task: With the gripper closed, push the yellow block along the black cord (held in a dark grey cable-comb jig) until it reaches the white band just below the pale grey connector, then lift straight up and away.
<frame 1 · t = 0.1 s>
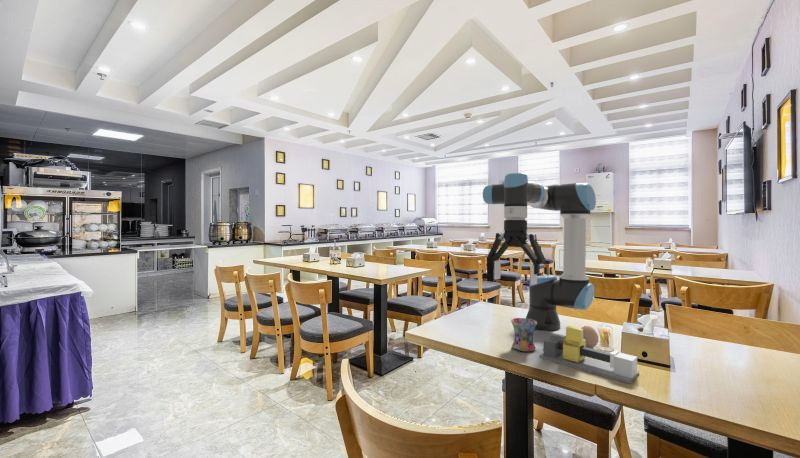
hand: (514, 281, 122), 28 cm above the table, fingers open, 13 cm apart
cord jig: (586, 365, 120), on the table
egg: (587, 348, 137), on the table
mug: (525, 348, 137), on the table
yellow block: (574, 343, 123), point 7 cm above the table, slide at 0.0 cm
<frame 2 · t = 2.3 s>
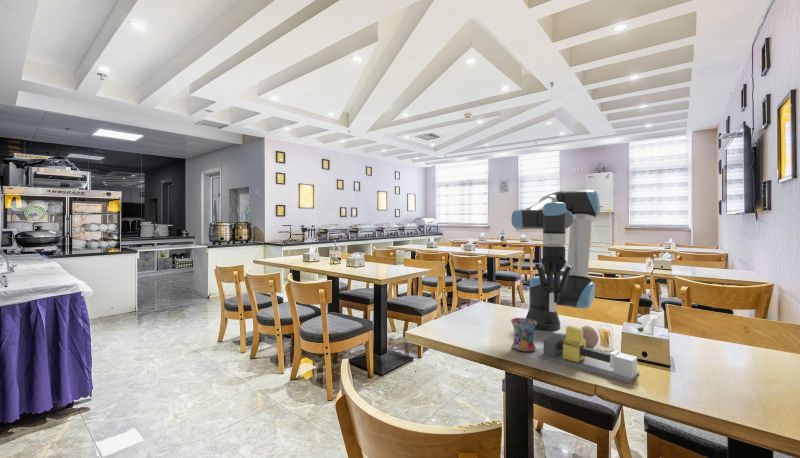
hand: (552, 311, 128), 16 cm above the table, fingers closed
nothing on the table moved.
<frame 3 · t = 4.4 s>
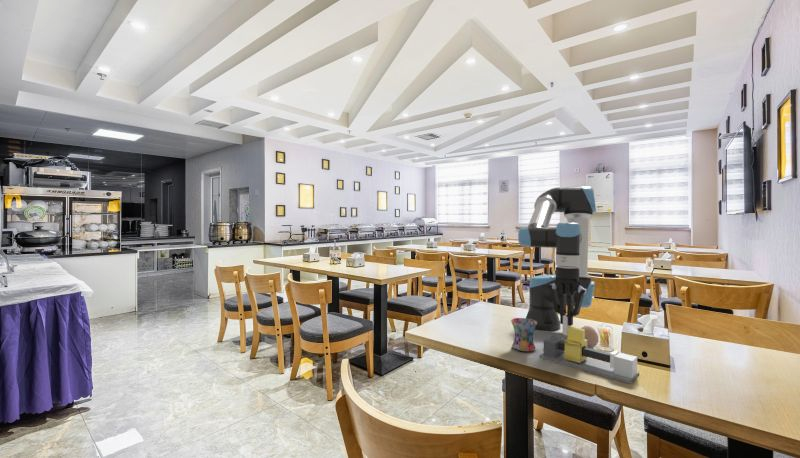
hand: (566, 334, 125), 9 cm above the table, fingers closed
yellow block: (576, 343, 123), point 6 cm above the table, slide at 0.6 cm, touching gripper
everything else where it was.
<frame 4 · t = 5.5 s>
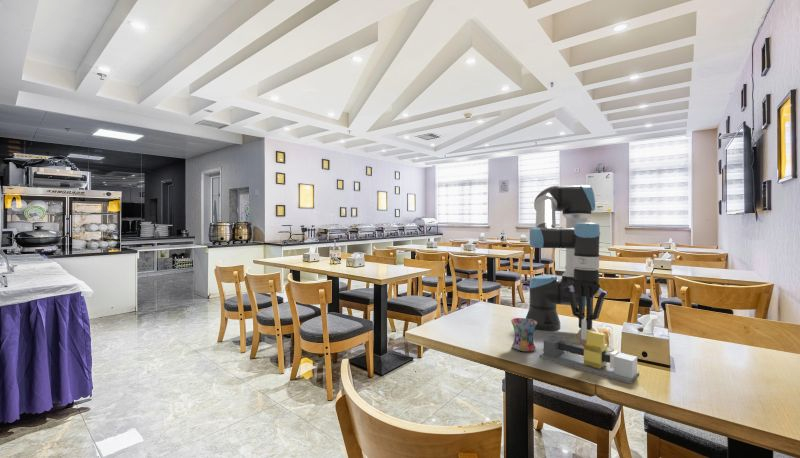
hand: (585, 338, 120), 9 cm above the table, fingers closed
yellow block: (595, 348, 118), point 6 cm above the table, slide at 6.8 cm, touching gripper
everything else where it was.
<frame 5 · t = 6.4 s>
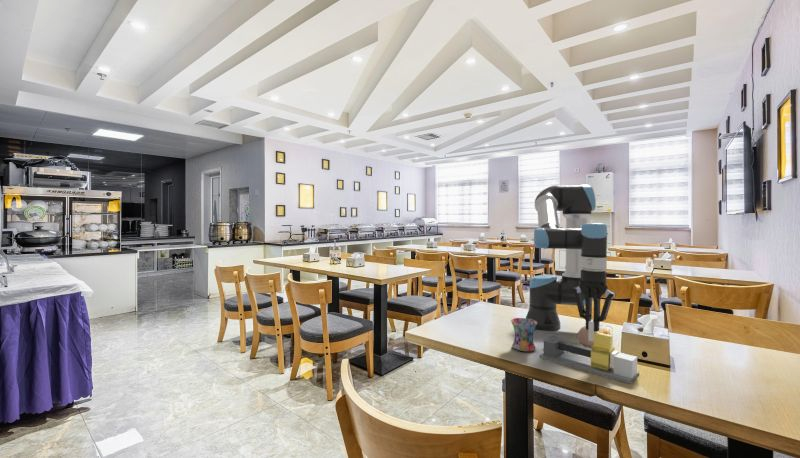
hand: (592, 340, 119), 9 cm above the table, fingers closed
yellow block: (602, 350, 117), point 6 cm above the table, slide at 8.9 cm, touching gripper
everything else where it was.
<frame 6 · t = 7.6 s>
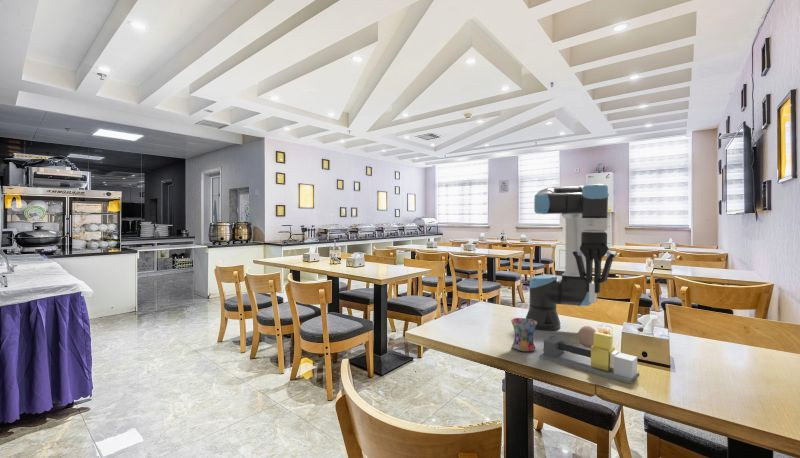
hand: (592, 302, 119), 22 cm above the table, fingers closed
yellow block: (602, 350, 117), point 6 cm above the table, slide at 9.0 cm
everything else where it was.
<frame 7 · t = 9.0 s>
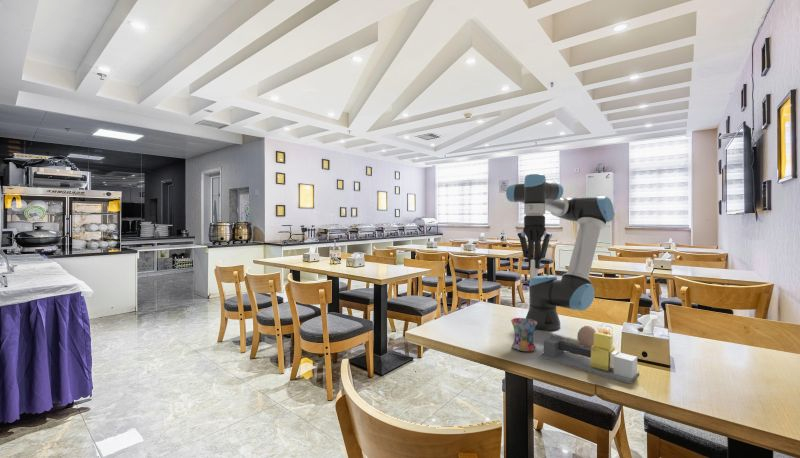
hand: (534, 276, 137), 27 cm above the table, fingers closed
nothing on the table moved.
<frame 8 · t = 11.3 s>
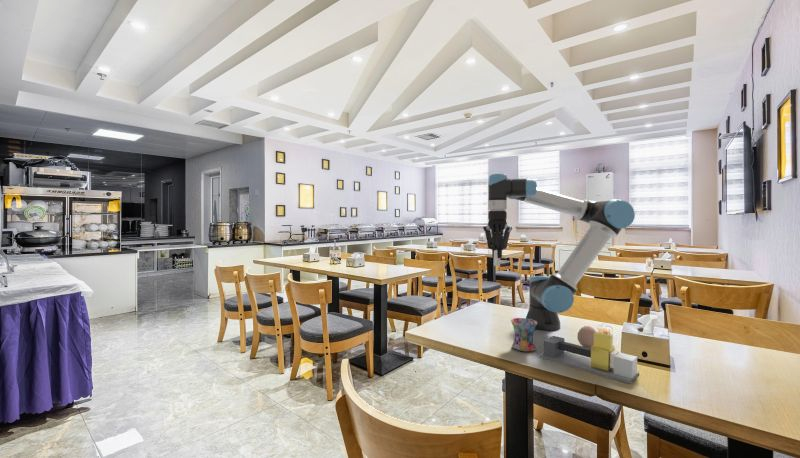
hand: (497, 265, 153), 29 cm above the table, fingers closed
nothing on the table moved.
at the end: yellow block slide at 9.0 cm; the gripper is holding nothing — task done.
